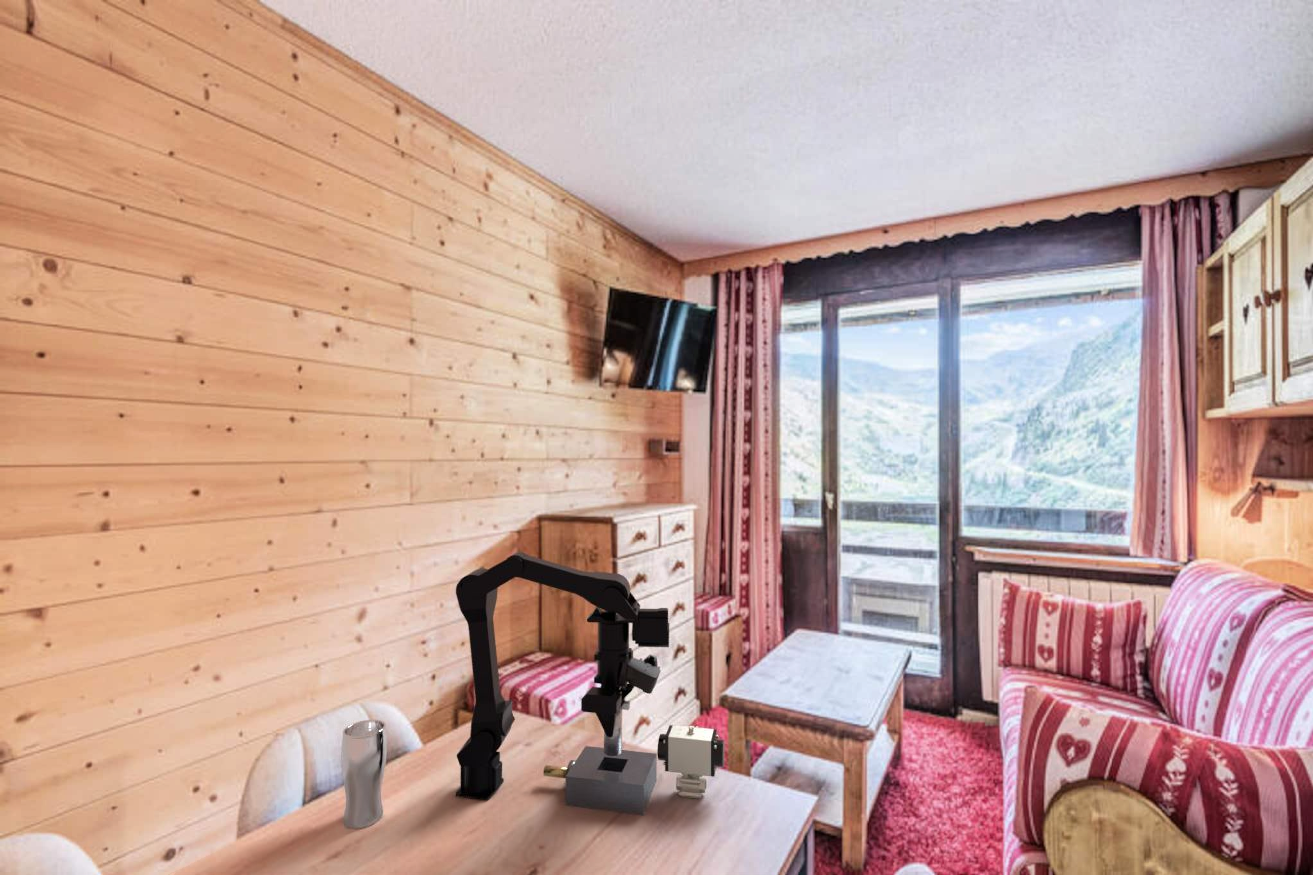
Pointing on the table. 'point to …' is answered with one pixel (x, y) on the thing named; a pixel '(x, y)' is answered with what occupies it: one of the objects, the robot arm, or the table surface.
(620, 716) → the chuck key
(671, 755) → the pneumatic valve
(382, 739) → the beer glass
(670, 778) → the table surface
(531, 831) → the table surface
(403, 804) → the table surface
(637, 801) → the block
